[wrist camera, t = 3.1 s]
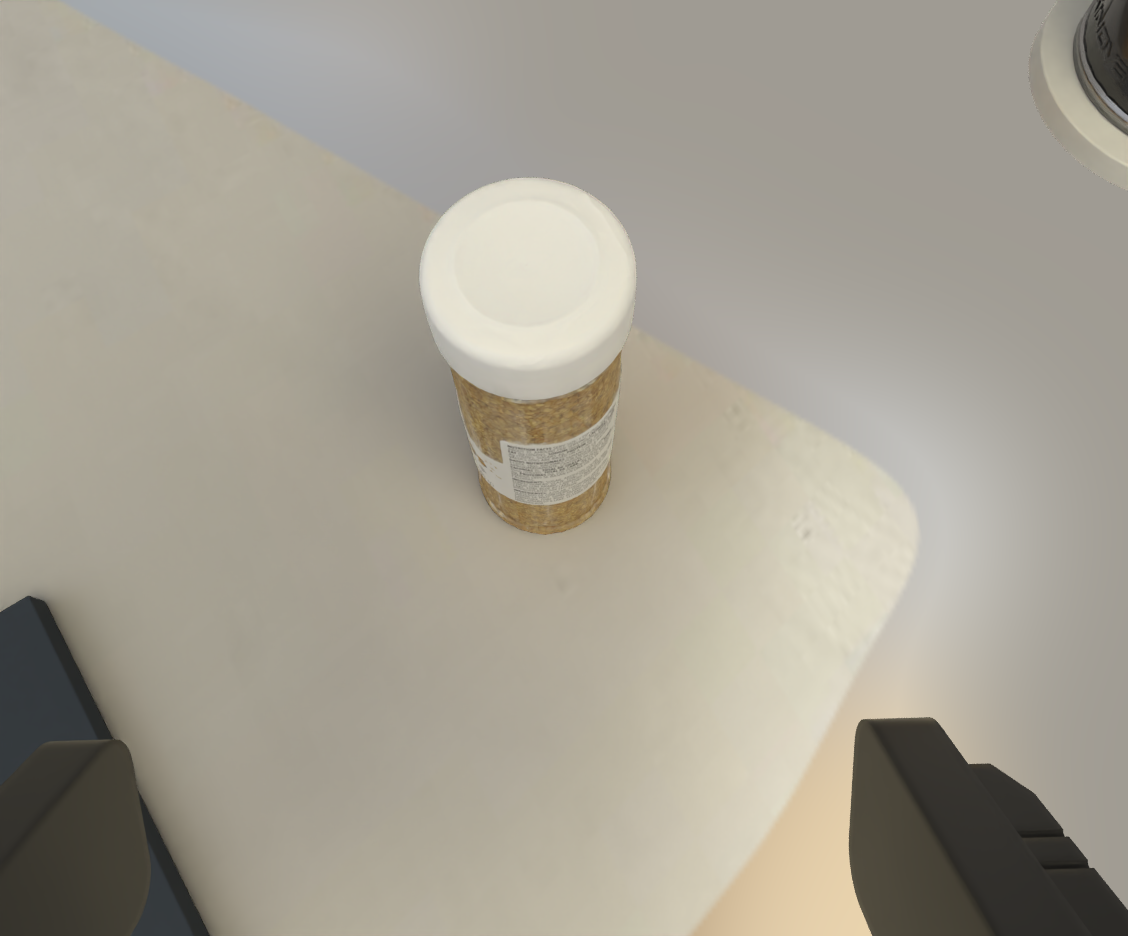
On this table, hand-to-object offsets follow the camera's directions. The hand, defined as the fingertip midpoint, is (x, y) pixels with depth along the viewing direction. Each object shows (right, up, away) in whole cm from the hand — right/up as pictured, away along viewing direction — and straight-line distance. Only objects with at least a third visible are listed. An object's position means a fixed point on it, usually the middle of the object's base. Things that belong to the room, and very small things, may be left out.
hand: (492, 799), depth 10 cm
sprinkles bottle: (0, +3, +21) cm, 22 cm away
